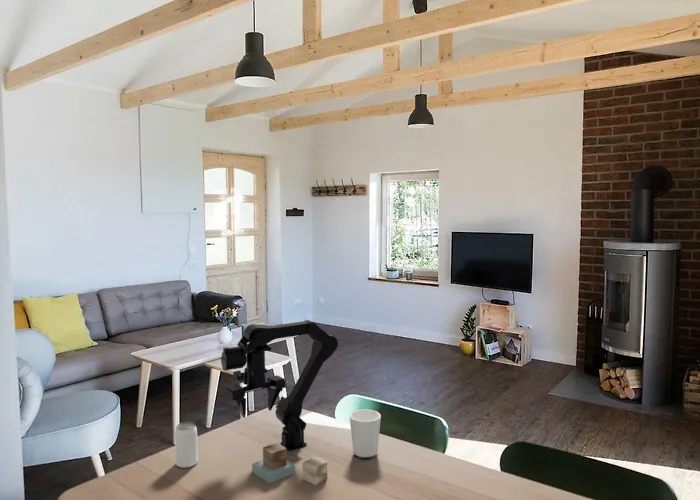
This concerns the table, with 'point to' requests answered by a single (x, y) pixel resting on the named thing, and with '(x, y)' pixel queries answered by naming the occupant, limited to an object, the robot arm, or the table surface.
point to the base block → (272, 471)
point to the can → (186, 445)
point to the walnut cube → (274, 456)
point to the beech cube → (314, 470)
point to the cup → (365, 432)
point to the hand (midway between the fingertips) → (256, 413)
